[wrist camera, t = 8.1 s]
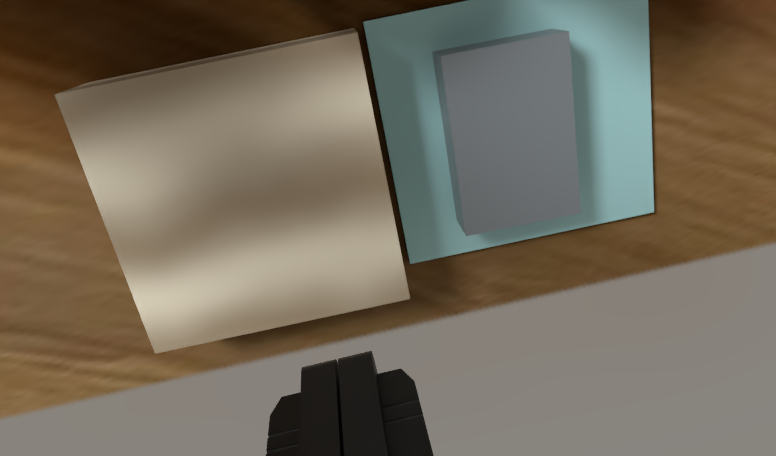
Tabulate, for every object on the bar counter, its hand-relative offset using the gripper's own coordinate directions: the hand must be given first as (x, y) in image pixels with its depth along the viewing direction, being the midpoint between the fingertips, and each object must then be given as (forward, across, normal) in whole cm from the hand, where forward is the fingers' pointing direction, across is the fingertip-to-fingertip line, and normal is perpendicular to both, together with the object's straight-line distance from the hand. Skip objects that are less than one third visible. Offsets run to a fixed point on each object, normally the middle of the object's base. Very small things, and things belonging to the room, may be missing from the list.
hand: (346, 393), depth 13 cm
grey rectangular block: (+18, -9, 0) cm, 21 cm away
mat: (+20, -10, 0) cm, 22 cm away
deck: (+20, +4, +1) cm, 21 cm away
